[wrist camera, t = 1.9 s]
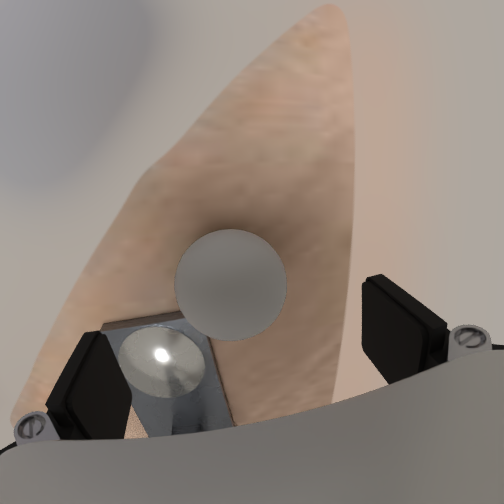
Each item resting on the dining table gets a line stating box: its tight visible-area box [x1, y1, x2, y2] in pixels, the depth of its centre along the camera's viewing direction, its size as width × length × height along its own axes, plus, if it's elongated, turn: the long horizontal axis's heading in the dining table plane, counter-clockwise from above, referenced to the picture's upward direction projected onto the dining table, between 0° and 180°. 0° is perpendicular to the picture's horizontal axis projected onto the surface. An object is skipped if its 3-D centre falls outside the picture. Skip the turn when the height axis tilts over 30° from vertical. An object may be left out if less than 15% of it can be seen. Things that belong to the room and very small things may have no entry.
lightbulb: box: [174, 229, 287, 341], centre depth 20 cm, size 6×6×11 cm
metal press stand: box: [100, 311, 235, 437], centre depth 22 cm, size 17×9×12 cm, turn 9°
